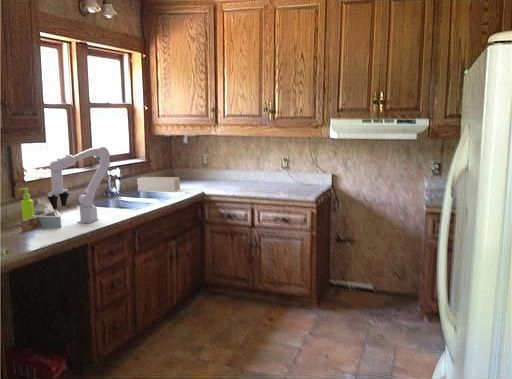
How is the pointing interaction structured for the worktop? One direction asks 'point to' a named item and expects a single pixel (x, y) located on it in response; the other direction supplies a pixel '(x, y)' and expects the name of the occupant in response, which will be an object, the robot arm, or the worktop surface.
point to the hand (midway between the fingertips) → (59, 207)
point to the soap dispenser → (27, 205)
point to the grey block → (50, 221)
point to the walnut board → (33, 222)
